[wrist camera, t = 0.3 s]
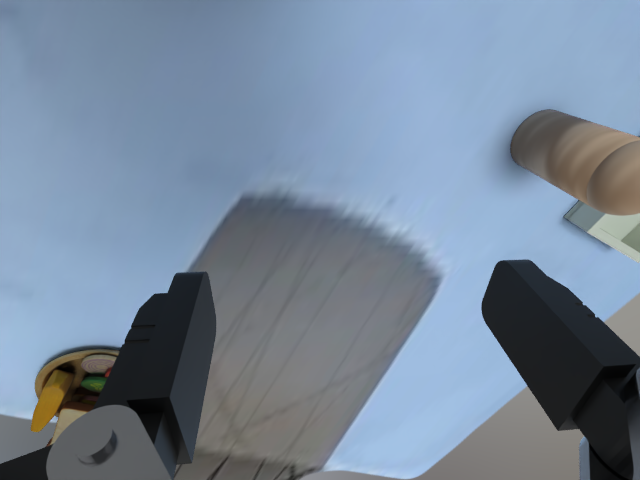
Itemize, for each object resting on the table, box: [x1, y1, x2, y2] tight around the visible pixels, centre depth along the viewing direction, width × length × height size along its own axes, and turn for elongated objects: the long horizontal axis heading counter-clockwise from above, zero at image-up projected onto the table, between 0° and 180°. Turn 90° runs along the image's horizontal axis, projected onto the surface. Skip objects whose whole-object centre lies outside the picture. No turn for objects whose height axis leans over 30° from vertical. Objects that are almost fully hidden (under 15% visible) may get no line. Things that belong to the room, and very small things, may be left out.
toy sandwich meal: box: [31, 349, 120, 447], centre depth 35 cm, size 12×14×5 cm
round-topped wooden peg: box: [511, 110, 640, 216], centre depth 24 cm, size 5×5×10 cm
